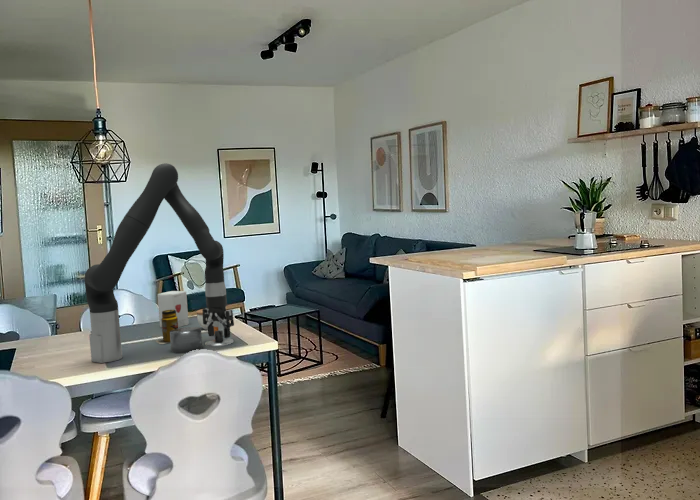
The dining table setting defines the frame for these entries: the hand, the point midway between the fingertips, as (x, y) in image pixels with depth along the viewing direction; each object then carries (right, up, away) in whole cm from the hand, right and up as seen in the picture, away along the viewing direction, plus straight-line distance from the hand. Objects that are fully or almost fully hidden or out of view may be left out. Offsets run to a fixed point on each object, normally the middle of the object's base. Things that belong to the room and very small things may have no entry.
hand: (219, 336), depth 229 cm
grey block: (-10, -3, -8) cm, 13 cm away
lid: (0, -3, 0) cm, 3 cm away
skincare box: (-3, -2, +14) cm, 15 cm away
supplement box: (-28, -1, +38) cm, 47 cm away
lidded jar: (-10, -1, +29) cm, 31 cm away
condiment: (-21, -3, +8) cm, 23 cm away
